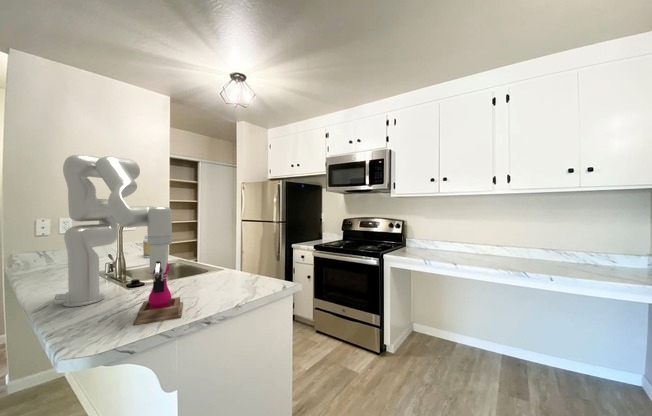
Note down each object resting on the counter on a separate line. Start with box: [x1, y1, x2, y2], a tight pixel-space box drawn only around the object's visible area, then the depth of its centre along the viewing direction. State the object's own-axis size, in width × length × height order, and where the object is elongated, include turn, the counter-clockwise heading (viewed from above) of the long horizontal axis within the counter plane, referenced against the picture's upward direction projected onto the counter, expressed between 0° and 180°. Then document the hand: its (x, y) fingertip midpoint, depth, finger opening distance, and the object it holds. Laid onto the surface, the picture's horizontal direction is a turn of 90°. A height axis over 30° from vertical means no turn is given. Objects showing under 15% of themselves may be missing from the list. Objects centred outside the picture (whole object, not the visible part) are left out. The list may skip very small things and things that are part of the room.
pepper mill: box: [147, 262, 172, 310], centre depth 98 cm, size 7×7×20 cm
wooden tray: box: [132, 296, 184, 326], centre depth 98 cm, size 14×14×4 cm
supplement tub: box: [142, 234, 151, 259], centre depth 205 cm, size 12×12×17 cm
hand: (160, 288), depth 98 cm, fingers open, 7 cm apart
